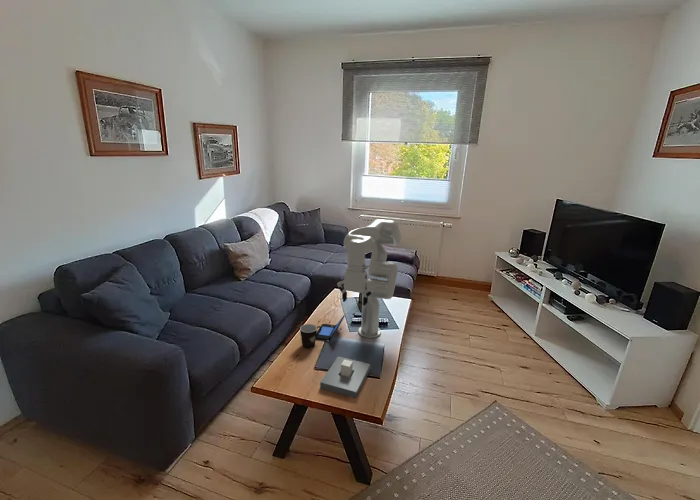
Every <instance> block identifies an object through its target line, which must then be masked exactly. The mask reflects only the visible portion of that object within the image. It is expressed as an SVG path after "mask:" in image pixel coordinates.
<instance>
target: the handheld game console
mask: <svg viewBox="0 0 700 500" xmlns="http://www.w3.org/2000/svg"><path fill="white" fill-rule="evenodd" d="M344 318H345V314H343V315H342V316H341V318H340V320H339V321H338V323H336V324H335V325H334V324H331V323H330V324H329V323H328V324H327V323H322V324H321V325H320V327H321V332H320V333H319V331H320V328H318V329H317V333H316V335H317V334H318V333H319V334H318V336H317V337H316V340H319V341H325V342H327V341H326V340H329V341H328V342H331V341H330V340H332V338H334V337H333V336H334V334H335V333H337V331H338V329H339V328H340V325H341V324H342V322H343V320H344Z"/></svg>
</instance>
